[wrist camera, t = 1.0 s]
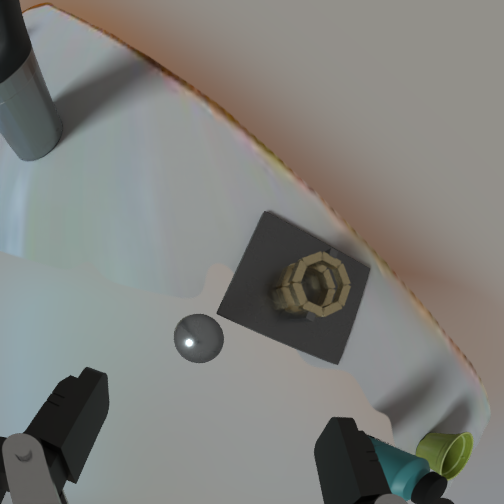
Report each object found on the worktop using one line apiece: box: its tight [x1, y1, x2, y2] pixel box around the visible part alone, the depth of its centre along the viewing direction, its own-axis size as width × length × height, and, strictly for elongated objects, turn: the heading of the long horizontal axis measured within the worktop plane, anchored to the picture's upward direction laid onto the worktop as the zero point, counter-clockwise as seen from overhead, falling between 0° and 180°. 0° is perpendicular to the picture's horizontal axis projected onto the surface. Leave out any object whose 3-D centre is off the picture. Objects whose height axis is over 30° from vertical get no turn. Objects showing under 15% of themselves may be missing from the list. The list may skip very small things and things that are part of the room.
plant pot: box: [416, 432, 473, 481], centre depth 36 cm, size 9×9×9 cm
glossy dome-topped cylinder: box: [174, 314, 224, 363], centre depth 28 cm, size 4×4×16 cm
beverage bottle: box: [367, 435, 447, 504], centre depth 27 cm, size 6×7×20 cm
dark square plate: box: [217, 211, 370, 365], centre depth 37 cm, size 18×15×7 cm
